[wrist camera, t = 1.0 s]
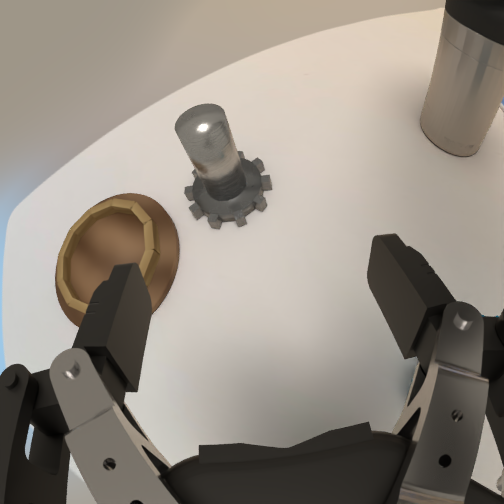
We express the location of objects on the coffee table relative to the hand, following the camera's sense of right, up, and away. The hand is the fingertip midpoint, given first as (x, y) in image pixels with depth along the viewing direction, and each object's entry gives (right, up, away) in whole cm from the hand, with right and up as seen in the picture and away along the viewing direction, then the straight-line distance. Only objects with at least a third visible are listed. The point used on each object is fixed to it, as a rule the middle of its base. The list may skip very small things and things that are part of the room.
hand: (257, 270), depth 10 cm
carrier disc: (-16, -1, +23) cm, 28 cm away
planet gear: (-3, +7, +24) cm, 25 cm away
